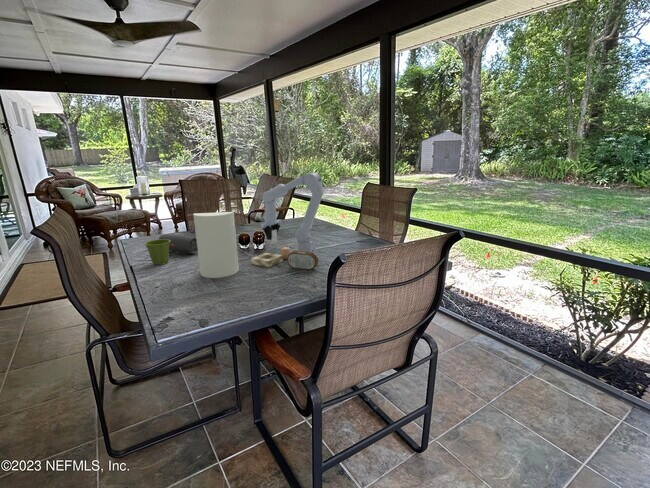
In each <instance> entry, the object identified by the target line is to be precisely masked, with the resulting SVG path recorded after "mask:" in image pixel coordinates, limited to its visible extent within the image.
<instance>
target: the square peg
mask: <svg viewBox="0 0 650 488" xmlns="http://www.w3.org/2000/svg"><path fill="white" fill-rule="evenodd" d="M265 237H266V236H265ZM266 243H267V244H272V245H273V244H276V243H278V233H277V229H272V233H271V240H267V237H266Z"/></svg>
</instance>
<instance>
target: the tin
mask: <svg viewBox="0 0 650 488" xmlns="http://www.w3.org/2000/svg"><path fill="white" fill-rule="evenodd" d="M316 255H317V254H316ZM316 255H315V254H314V253H312V252H303V251H297V250H292V251H290V254H289V255H288V257H287V259H286V260H287V264H288V265H289V266H290V267H291V268H293V269H296V270H297V269H298V270H305V269H306V270H307V271H312V270H314V269H315V268H316V267H317V266H318V263H319V259H318V255H317V256H316Z"/></svg>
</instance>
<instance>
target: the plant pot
mask: <svg viewBox="0 0 650 488" xmlns="http://www.w3.org/2000/svg"><path fill="white" fill-rule="evenodd" d="M169 243H170V240H168V239H159V238H158V239H153V240H148V241H146V242H144V245H145V247H146V249H147V250H148V254H149V257H150V260H151V262H152V265H154V264H156V265H158V264H162V265H164V264H163V263H166V264H167V263H169V255H170V253H169V251H170V250H169Z"/></svg>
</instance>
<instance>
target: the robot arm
mask: <svg viewBox="0 0 650 488" xmlns="http://www.w3.org/2000/svg"><path fill="white" fill-rule="evenodd" d="M300 185H301V186H304V185H305V186H306V187H307V188H308V189H309V190H310V192H311V194H312V195H311V197H310V200H309V202H308V206H307V208H306V212H305V214H304V217H303V220H302V222H301V224H300V226H299V227H298V230H296V231H295V233H294V235H295V236H294V237H295V239H296V245H297V246H296V248H297V249H296V251H303V252H312V253H314V254H315V255H316V256H317V257H318V255H317V245H316V242H315V241H312V239H311V236H312V234H313V231H312V230H313V223H314V220H315V217H316V215H317V211H318V209H319V206H320V204H321V201H322V198H323V195H324V187H323V178H322V177H321V175H320V173H317V172H316V171H314V172H308V173H306V174H303V175H300V176H298V177H296V178H294V179H293V180H291V181H290V182H288V183H286V184H285V183H278V184H276V186H274V187H273V188H272V187H271V188H270V189H269V190H266V191H264V192H263V193H262V196H261V199H262V201H263V202H264V203H263V205H264V217H265V221H264V222H263V223H260V228H261V229H262V230H263V231H264V234H265V237H267V238H266V241H267V240H271V233H272V229H277V234H278V232H279V229H280V227H281V224H282V219H277V209H276V200H277V199H279V198H281V197H283V196H286V195H287V194H288V191H290V190H292V189H294V188H296V187H298V186H300Z"/></svg>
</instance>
